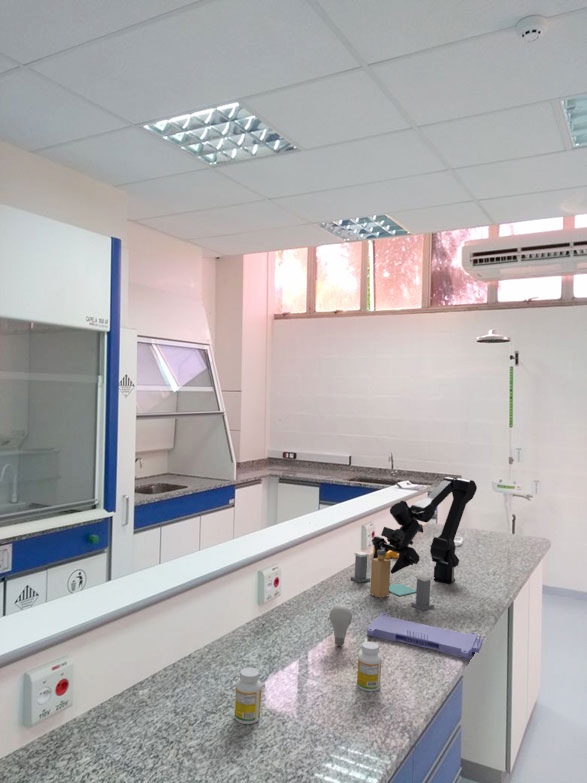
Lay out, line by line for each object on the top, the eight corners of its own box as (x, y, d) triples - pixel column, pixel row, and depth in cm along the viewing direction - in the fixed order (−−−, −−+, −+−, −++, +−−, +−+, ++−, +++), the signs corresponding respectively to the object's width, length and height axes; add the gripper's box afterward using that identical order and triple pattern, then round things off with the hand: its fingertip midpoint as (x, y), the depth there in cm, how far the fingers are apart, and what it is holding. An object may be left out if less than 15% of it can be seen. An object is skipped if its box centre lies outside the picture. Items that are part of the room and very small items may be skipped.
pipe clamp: (373, 557, 249) (374, 542, 249) (373, 555, 253) (373, 539, 253) (402, 559, 248) (403, 544, 248) (401, 557, 252) (402, 541, 252)
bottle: (379, 591, 207) (381, 548, 207) (389, 595, 203) (391, 551, 203) (370, 593, 204) (372, 550, 204) (379, 598, 200) (381, 553, 200)
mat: (399, 584, 215) (399, 583, 215) (417, 592, 208) (417, 591, 208) (380, 588, 210) (381, 587, 210) (399, 596, 203) (399, 595, 203)
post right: (360, 577, 222) (362, 550, 222) (370, 580, 218) (371, 554, 218) (350, 579, 219) (351, 552, 219) (359, 583, 215) (361, 555, 215)
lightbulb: (353, 643, 163) (354, 603, 163) (347, 652, 157) (349, 611, 157) (331, 639, 165) (333, 599, 165) (325, 648, 159) (327, 607, 159)
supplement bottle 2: (365, 678, 144) (366, 638, 144) (384, 686, 140) (386, 645, 140) (352, 686, 140) (354, 644, 140) (372, 694, 136) (374, 652, 136)
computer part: (474, 665, 154) (483, 644, 168) (475, 649, 154) (484, 629, 168) (364, 639, 167) (380, 621, 181) (365, 624, 167) (381, 607, 181)
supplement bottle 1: (247, 728, 121) (249, 680, 121) (229, 717, 124) (231, 671, 124) (265, 717, 125) (267, 672, 125) (247, 708, 128) (249, 663, 128)
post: (421, 602, 198) (423, 573, 198) (433, 607, 194) (435, 577, 193) (411, 605, 195) (412, 575, 195) (423, 610, 191) (424, 579, 191)
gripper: (376, 513, 214) (351, 547, 208) (415, 524, 199) (390, 561, 193) (391, 533, 219) (367, 567, 213) (430, 545, 204) (405, 582, 197)
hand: (381, 569), depth 204 cm, fingers open, 9 cm apart
